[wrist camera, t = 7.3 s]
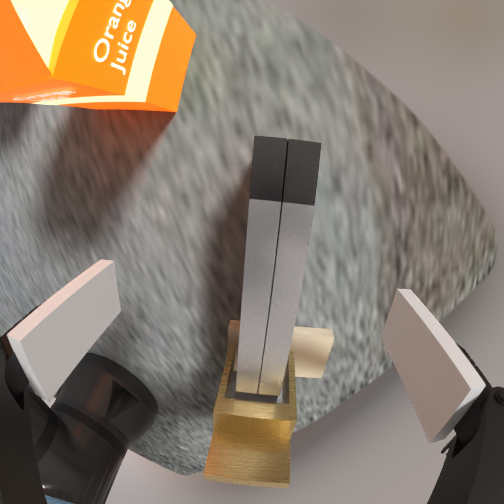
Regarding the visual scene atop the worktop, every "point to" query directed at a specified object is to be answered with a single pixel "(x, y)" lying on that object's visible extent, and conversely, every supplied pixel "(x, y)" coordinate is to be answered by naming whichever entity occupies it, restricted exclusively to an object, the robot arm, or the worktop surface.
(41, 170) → the worktop surface
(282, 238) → the tongs arm
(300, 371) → the stand
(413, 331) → the robot arm
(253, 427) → the lock collar
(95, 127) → the worktop surface
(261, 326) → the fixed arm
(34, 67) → the orange juice
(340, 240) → the worktop surface
